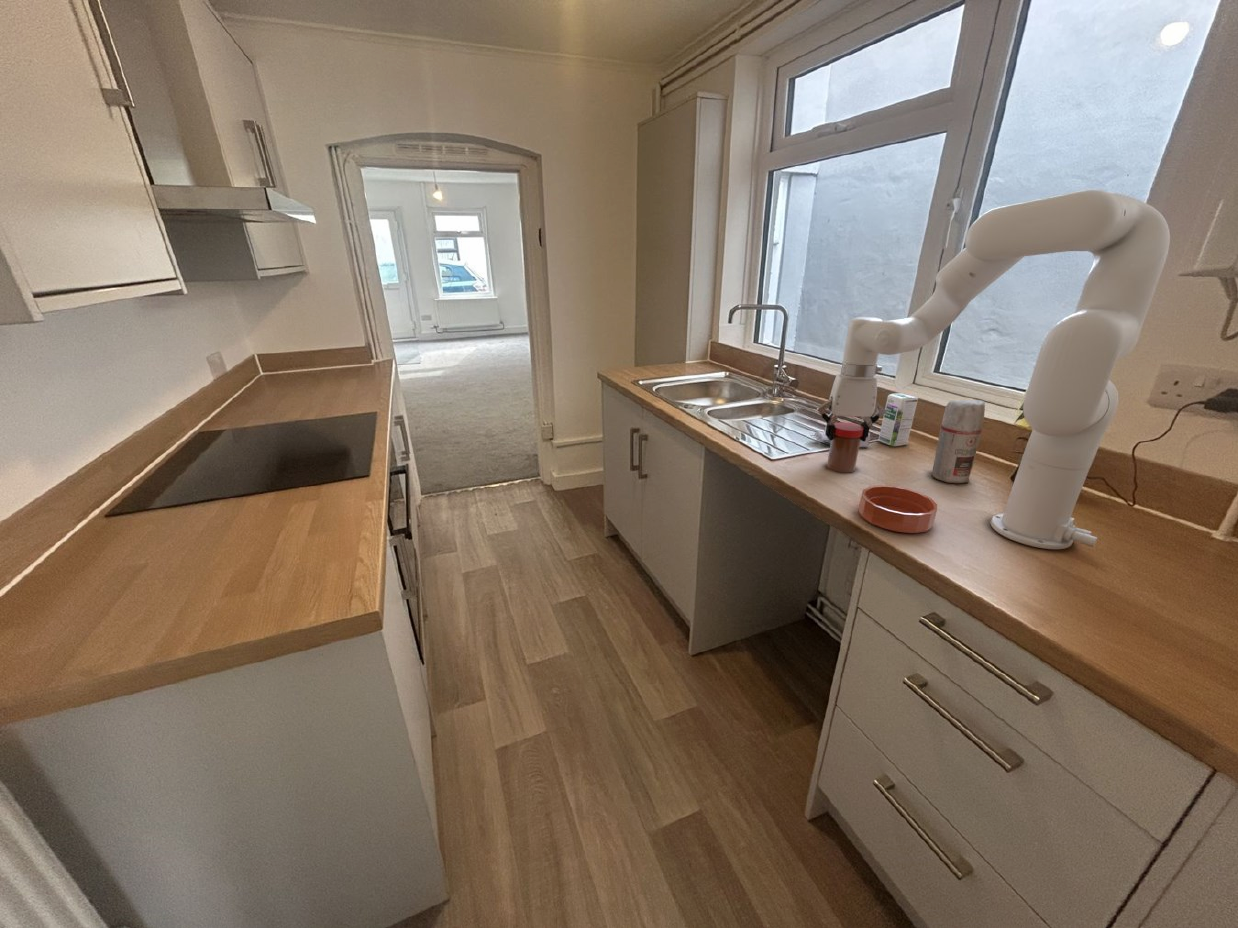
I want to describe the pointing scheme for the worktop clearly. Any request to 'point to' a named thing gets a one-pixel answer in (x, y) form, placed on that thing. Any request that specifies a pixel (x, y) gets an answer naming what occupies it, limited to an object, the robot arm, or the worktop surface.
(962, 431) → the spray can
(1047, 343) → the robot arm
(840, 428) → the lid
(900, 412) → the syrup box
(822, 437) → the charger
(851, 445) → the jar
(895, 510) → the dish
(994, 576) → the worktop surface
